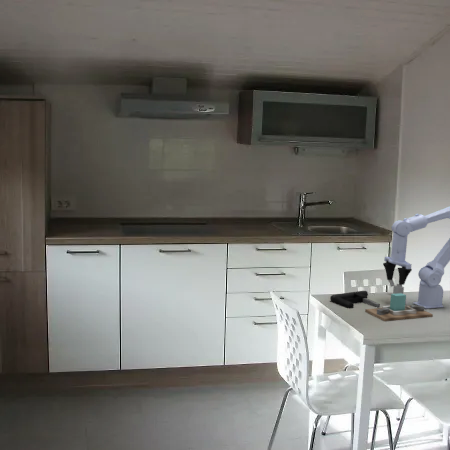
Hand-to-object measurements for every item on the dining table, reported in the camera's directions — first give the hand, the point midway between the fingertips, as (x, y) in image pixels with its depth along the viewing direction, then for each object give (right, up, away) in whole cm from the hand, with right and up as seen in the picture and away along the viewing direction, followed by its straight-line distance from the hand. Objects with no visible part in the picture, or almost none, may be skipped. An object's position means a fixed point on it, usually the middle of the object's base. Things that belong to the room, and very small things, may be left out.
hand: (395, 282), depth 246 cm
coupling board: (-2, -11, -12) cm, 17 cm away
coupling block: (-3, -10, -13) cm, 17 cm away
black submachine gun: (-15, -9, +1) cm, 18 cm away
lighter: (+4, -7, +16) cm, 18 cm away
